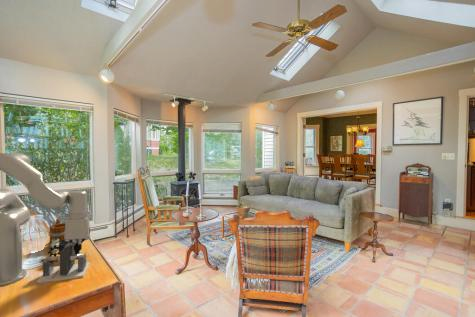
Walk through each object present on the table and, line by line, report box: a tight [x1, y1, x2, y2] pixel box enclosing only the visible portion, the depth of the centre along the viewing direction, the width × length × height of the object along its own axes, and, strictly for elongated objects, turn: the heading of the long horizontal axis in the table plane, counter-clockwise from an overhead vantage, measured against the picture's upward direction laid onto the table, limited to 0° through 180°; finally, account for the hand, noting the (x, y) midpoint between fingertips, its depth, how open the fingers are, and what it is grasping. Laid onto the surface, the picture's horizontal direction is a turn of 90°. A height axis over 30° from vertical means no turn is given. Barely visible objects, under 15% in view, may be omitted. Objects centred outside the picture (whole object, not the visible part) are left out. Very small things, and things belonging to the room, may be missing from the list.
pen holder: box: [59, 239, 81, 254], centre depth 130 cm, size 9×9×10 cm
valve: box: [47, 239, 60, 257], centre depth 136 cm, size 7×7×12 cm
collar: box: [59, 243, 76, 275], centre depth 115 cm, size 3×11×11 cm, turn 20°
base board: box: [36, 261, 91, 284], centre depth 115 cm, size 18×13×1 cm
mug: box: [48, 218, 66, 249], centre depth 147 cm, size 11×16×15 cm, turn 44°
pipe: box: [42, 252, 87, 276], centre depth 115 cm, size 16×5×8 cm, turn 110°
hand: (77, 251), depth 118 cm, fingers closed
